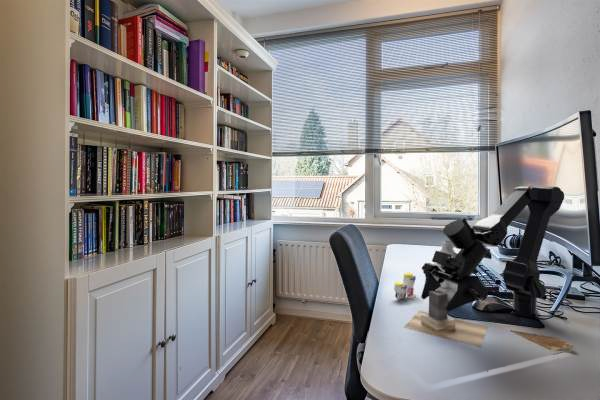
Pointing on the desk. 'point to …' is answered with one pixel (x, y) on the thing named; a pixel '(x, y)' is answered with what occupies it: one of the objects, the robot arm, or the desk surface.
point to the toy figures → (405, 287)
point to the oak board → (452, 330)
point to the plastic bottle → (446, 285)
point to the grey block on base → (438, 313)
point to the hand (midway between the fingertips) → (434, 303)
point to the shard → (547, 341)
